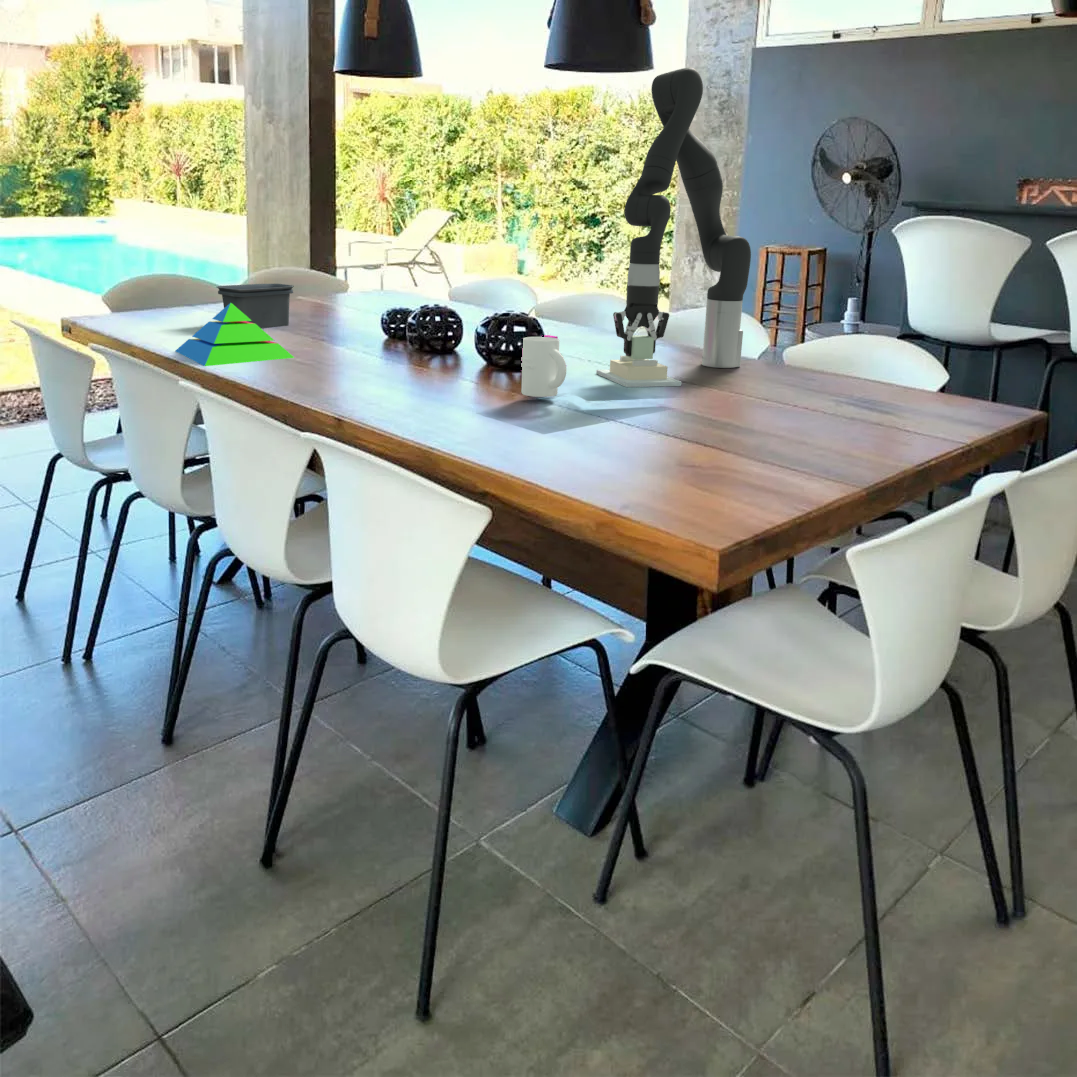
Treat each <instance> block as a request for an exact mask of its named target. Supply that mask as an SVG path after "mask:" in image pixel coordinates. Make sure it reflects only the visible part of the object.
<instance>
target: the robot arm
mask: <svg viewBox="0 0 1077 1077" xmlns="http://www.w3.org/2000/svg"><path fill="white" fill-rule="evenodd" d="M703 84H704V83H703V80H702V76H701V74H700V72H699V71H697V70H696V69H695V68H693V67H684V68H680V69H675V70H672V71H669V72H665V73H661V74H659V75H656V76H655V77H654V78H653V81H652V83H651V96H652V101H653V105H654V107H655V111H656V113H657V114H658V117H659V120H660V122H661V125H662V127H663V129H662V130H661V131H660V133H659V134H658V135H657V136H656V138H655V139H654V140H653V142H652V143H651V145H650V147H649V149H648V152H647V153H646V156H645V161H644V164H643V167H642V171H641V175H640V177H639V179H638V180H637V183H636V184H635V185H634V187H633V188H632V190H631V192H630V194H629V195H628V197H627V199H626V202H625V205H624V211H623V212H624V214H623V215H624V218H625V221H626V222H627V224H628V225H631V226H633V227H650V229H649V232H648V233H647V234H646V235H643V236H639V237H638V236H637V237H634V238H632V240H631V242H630V248H629V249H630V251H629V265H628V266H629V267H628V271H627V284H626V285H627V287H626V304H625V305H626V306H625V309H624V310H623V311H620V312H619V311H614V312H613V313H612V314H613V315H612V317H613V321H614V322H613V323H614V329H615V334H616V336H617V337H618V338H621V339H623V353H624V354H625V356H631V351H632V341H631V339H632V336H633V335H634V334H635V332H636V331H637V328H641V327H644V329H645V331H646V334H647V336H650V337H653V338H654V346H653V354H655V353H656V343H657V340H658V339H660V338H663V337H664V336H665V332H666V329H667V325H668V322H669V318H670V314H669V312H665V311H660V310H659V307H658V304H659V292H660V283H661V282H660V281H661V280H660V277H661V276H660V275H661V273H660V272H661V270H660V258H661V248H662V242H663V238H664V235H665V231H666V227H667V225H668V223H669V220H670V216H671V211H672V210H671V203H670V200H669V199H668V198H667V197H666V196H665V195H662V194H659V193H663V192H665V191H667V190H668V189H669V187H670V184H671V182H672V178H673V175H674V170H675V168H676V167H675V166H676V163H677V166H678V169H679V170H678V171H679V174H680V177H681V180H682V183H683V187H684V189H685V192H686V195H687V198H688V201H689V204H690V208H691V211H692V214H693V217H694V220H695V223H696V228H697V231H698V236H699V241H700V247H701V251H702V254H703V258H704V261H705V263H706V266H707V267H708V268H709V270H711V271H714V272H716V273H720V274H719V279H718V280H717V283H715V284H714V285H712V286H710V287H709V288H708V289H707V294H706V295H707V296H706V305H705V306H706V307H705V308H706V309H705V321H704V330H703V331H704V333H703V347H702V357H701V365H702V366H704V367H707V368H721V369H730V368H731V369H732V368H740V367H741V362H742V361H741V360H742V359H741V358H742V350H743V349H742V348H743V338H744V337H743V336H744V331H743V329H741V326H742V325H741V323H742V314H743V313H742V312H743V303H744V302H743V300H744V294H745V292H746V290H747V287H748V284H749V283H748V282H749V276H750V275H749V274H750V267H751V259H752V258H751V257H752V250H751V246H750V243H749V240H747V239H746V238H745V237H742V236H738V235H727V233H726V230H725V227H724V226H723V222H722V219H721V214H720V209H721V203H722V202H721V201H722V198H723V197H722V195H723V190H724V189H723V188H724V184H723V178H722V174H721V171H720V167H719V164H718V161H717V158H716V157H715V155H714V153H713V152H712V151H711V149H709V148H708V146H706V144H705V143H703V141H702V140H701V139H700V138H698V136H696V135H695V134H694V132H693V131H692V130H691V128H690V127H691V124H692V123H693V120H694V118H695V115H696V113H697V111H698V109H699V106H700V104H701V103H702V102H701V101H702V99H703V95H704V94H703V93H704V85H703ZM625 317H626V319H627V321H628V322H627V324H626V326H625V327H624V322H623V321H625ZM656 319H658V321H657V322H658V323H657V326H655V320H656Z"/></svg>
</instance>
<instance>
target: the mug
mask: <svg viewBox="0 0 1077 1077" xmlns="http://www.w3.org/2000/svg"><path fill="white" fill-rule="evenodd" d="M522 339H523V348H522V357H521V361H522V363H521V367H522V370H521V394H522V395H523V396H525V397H526V396H527V397H533V398H535V397H536V398H547V397H548V398H549V397H556V396H557V395H558V393H559V392H558V390H559V387H561V386H562V385H563V383H564V381H565V379H566V378H567V377H566V376H567V364H566V360H565V358H564V356H563V355H562V353H561V352H560V339H559V338H558V339H557V338H551V337H542V336H527V337H523V338H522Z"/></svg>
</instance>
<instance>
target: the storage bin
mask: <svg viewBox="0 0 1077 1077" xmlns="http://www.w3.org/2000/svg"><path fill="white" fill-rule="evenodd" d="M216 288H217V289H218V291H217V294H218V295H221V297H222V302H223V303H222V304H223V309H224V308H225V307H226V306H227V305H228V304H230V303H232V304H233V305H234V306H236V307H237V308H238V309H239V310H240V311H241V312H243V313H244V314H245V315H246V316H247V317H248V318H249V319H251V320H252V321H247V322H251V323H255V324H256V325H258V326H259V327H260V328H261V329H268V328H278V327H287V326H288V327H289V326H290V294H294V290H293V288H294V285H293V284H285V283H251V284H248V283H247V284H230V285H229V284H228V285H216Z"/></svg>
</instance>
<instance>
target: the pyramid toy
mask: <svg viewBox="0 0 1077 1077" xmlns="http://www.w3.org/2000/svg"><path fill="white" fill-rule="evenodd" d="M211 320H213V321H208V322H207V323H206V324H204V325H203V326H202V327H200V329H198V331H196V332H195V333H194V334H193V335H192V336H191V337H192V338H188V339H187V340H185V342H183V343H182V344H181V345H180V346H179V347H178V348H176V349H175V352H176V353H178V354H180V355H181V356H184V357H186V358H188V359H190V360H192V361H194V362H195V363H197V364H199V365H201V366H203V367H211V366H221V365H232V364H233V365H234V364H242V363H243V364H244V363H254V362H262V361H264V362H265V361H273V360H274V361H276V360H286V359H295V356H293V355H292V354H291V353H290V352H289V351H288V350H286V348H284V347H283V346H282V345H281V344H279V343H278V342H275V339H274V338H272V337H271V336H270V335H269V334H268V333H267V332H266V331H264V329H263V328H260V327H259V326H258V325H256V324H255V323H251V322H247V321H252V320H251V319H249V318H248V317H247V316H246V315H245V314H244V313H243V312H241V311H240V310H239V309H238V308H237V307H236V306H234V305H233V304H232V303H230V304H228V305H227V306H226V307H225V308H224V307H223V308H222V310H220V311H219V312H218V313H217V314H216V315H214V316H213V317H212V318H211ZM214 320H215V321H214Z"/></svg>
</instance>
